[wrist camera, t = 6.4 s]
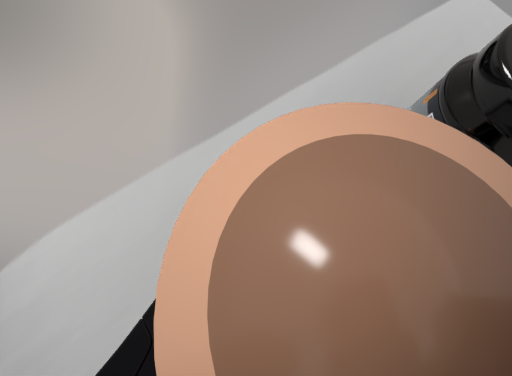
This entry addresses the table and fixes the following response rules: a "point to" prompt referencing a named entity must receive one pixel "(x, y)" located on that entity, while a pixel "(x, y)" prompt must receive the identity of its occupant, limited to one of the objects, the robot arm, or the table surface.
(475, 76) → the supplement container
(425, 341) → the terracotta cup
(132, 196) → the table surface
